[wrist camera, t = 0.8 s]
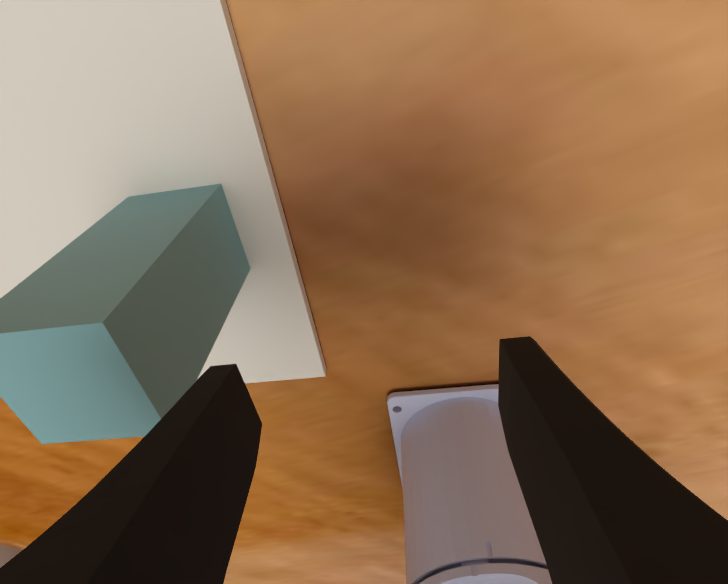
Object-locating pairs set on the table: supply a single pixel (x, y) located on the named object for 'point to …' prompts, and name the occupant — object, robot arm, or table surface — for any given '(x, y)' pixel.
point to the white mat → (145, 151)
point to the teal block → (121, 317)
